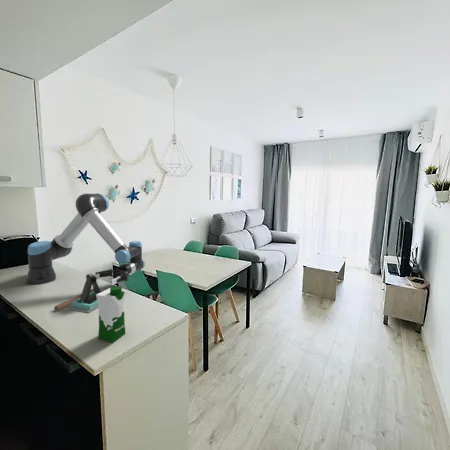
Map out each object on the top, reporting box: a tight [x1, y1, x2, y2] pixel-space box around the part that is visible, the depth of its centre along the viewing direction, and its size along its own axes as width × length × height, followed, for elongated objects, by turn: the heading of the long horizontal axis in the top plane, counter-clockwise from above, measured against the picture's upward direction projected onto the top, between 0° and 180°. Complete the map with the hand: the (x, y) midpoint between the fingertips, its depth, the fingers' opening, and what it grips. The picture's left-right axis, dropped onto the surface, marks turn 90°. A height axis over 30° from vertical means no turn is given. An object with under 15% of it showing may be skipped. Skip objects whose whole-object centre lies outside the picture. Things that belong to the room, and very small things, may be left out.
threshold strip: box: [54, 288, 94, 312], centre depth 130 cm, size 3×24×2 cm, turn 165°
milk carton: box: [96, 285, 127, 344], centre depth 99 cm, size 9×9×20 cm
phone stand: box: [80, 273, 102, 302], centre depth 127 cm, size 9×6×12 cm, turn 135°
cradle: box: [65, 292, 99, 314], centre depth 128 cm, size 13×18×3 cm
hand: (100, 281), depth 133 cm, fingers open, 13 cm apart
